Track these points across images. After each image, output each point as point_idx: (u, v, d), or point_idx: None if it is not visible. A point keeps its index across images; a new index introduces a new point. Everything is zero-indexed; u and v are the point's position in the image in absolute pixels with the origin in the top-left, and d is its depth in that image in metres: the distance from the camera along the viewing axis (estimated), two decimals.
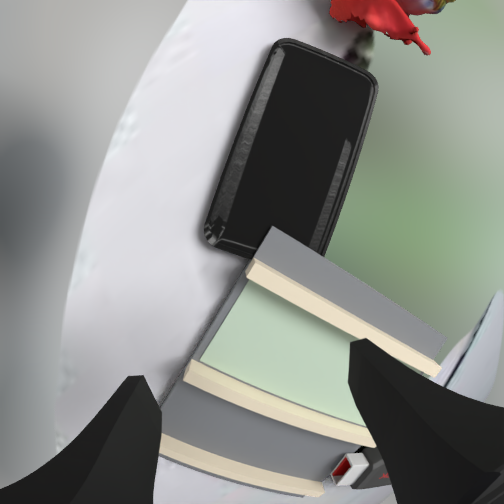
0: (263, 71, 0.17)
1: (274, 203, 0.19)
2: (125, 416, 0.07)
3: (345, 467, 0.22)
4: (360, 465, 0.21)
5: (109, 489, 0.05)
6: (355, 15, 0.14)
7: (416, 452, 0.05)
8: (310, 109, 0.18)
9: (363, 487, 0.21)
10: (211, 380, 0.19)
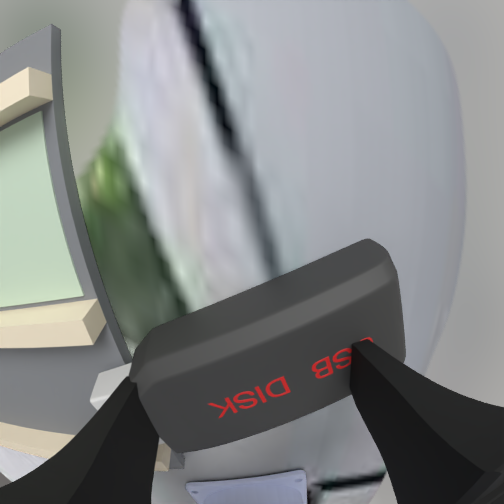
0: None
1: None
2: (123, 416, 0.07)
3: None
4: None
5: (107, 489, 0.05)
6: None
7: (416, 452, 0.05)
8: None
9: (204, 444, 0.10)
10: None
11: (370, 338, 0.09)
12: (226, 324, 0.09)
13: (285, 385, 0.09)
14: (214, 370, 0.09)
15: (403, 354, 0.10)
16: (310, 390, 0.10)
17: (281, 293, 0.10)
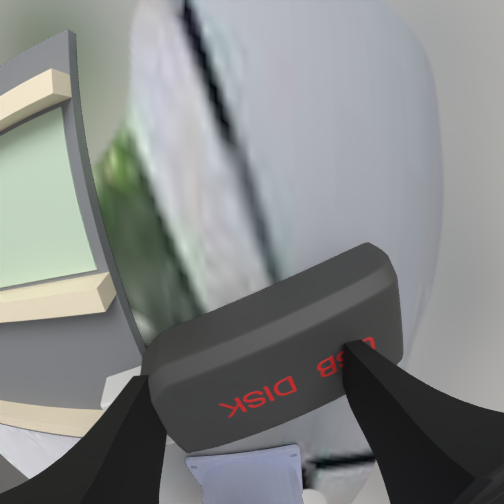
0: None
1: None
2: (131, 416, 0.07)
3: None
4: None
5: (116, 490, 0.05)
6: None
7: (409, 455, 0.05)
8: None
9: (214, 443, 0.10)
10: None
11: (371, 338, 0.10)
12: (236, 327, 0.10)
13: (292, 384, 0.10)
14: (226, 373, 0.09)
15: (401, 352, 0.11)
16: (315, 388, 0.10)
17: (288, 297, 0.10)
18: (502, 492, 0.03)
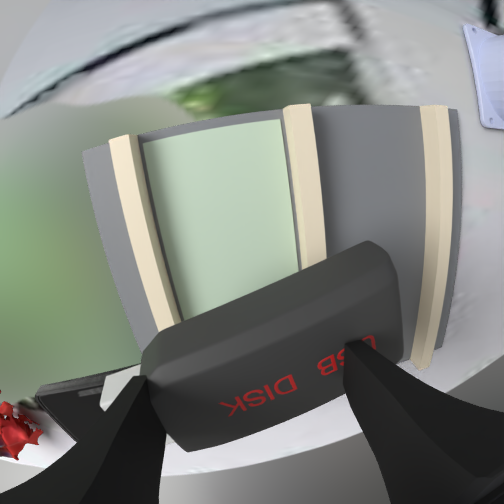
0: None
1: None
2: (131, 416, 0.07)
3: None
4: None
5: (116, 490, 0.05)
6: (30, 436, 0.18)
7: (409, 455, 0.05)
8: (91, 419, 0.20)
9: (214, 442, 0.10)
10: None
11: (372, 336, 0.10)
12: (236, 325, 0.10)
13: (292, 382, 0.10)
14: (226, 371, 0.09)
15: (402, 350, 0.11)
16: (316, 386, 0.10)
17: (288, 295, 0.10)
18: (502, 492, 0.03)
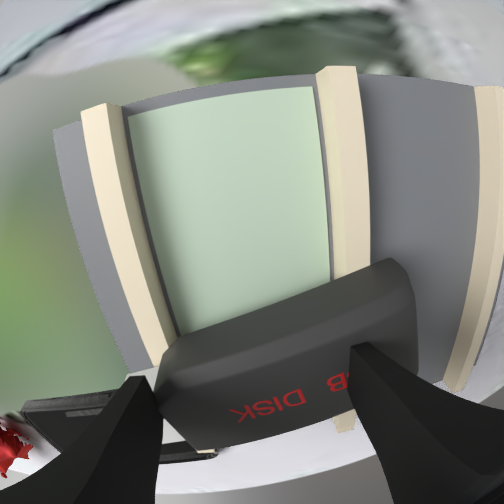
0: None
1: None
2: (127, 416, 0.07)
3: None
4: None
5: (111, 489, 0.05)
6: (19, 452, 0.15)
7: (412, 454, 0.05)
8: None
9: (223, 444, 0.11)
10: (339, 417, 0.14)
11: None
12: (249, 339, 0.10)
13: (301, 396, 0.10)
14: (236, 382, 0.09)
15: (416, 370, 0.10)
16: (325, 401, 0.10)
17: (303, 312, 0.10)
18: None
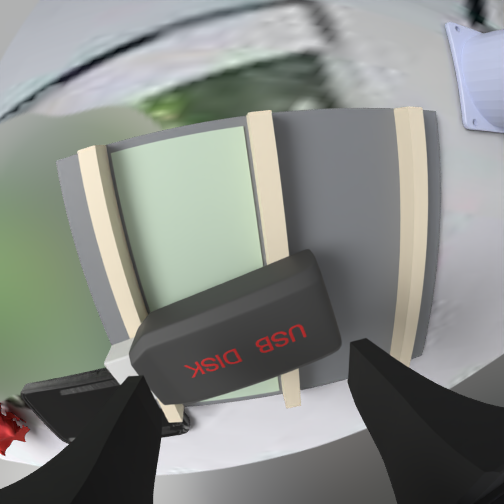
0: None
1: None
2: (125, 416, 0.07)
3: None
4: (118, 360, 0.14)
5: (109, 489, 0.05)
6: (17, 432, 0.18)
7: (416, 452, 0.05)
8: (74, 418, 0.20)
9: (184, 399, 0.14)
10: (284, 392, 0.18)
11: (301, 325, 0.13)
12: (195, 309, 0.14)
13: (237, 355, 0.14)
14: (186, 341, 0.13)
15: (336, 341, 0.14)
16: (258, 361, 0.14)
17: (234, 289, 0.14)
18: None
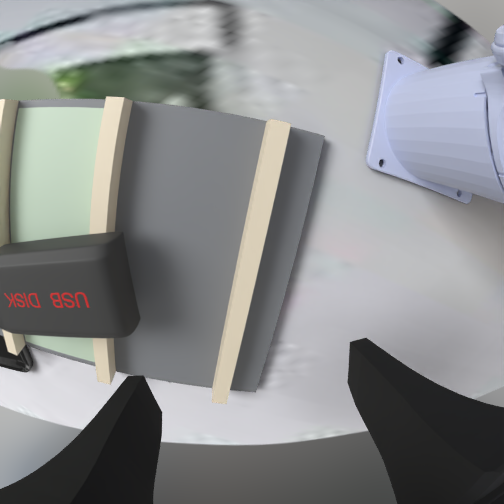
0: None
1: None
2: (125, 416, 0.07)
3: None
4: None
5: (109, 489, 0.05)
6: None
7: (416, 452, 0.05)
8: None
9: (3, 325, 0.13)
10: (95, 364, 0.17)
11: (85, 294, 0.13)
12: (21, 249, 0.13)
13: (37, 300, 0.13)
14: (6, 272, 0.12)
15: (118, 325, 0.14)
16: (51, 313, 0.13)
17: (51, 244, 0.13)
18: None
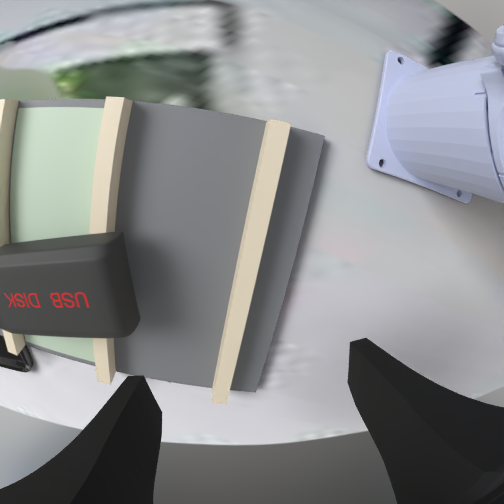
0: None
1: None
2: (125, 416, 0.07)
3: None
4: None
5: (109, 489, 0.05)
6: None
7: (416, 452, 0.05)
8: None
9: (3, 325, 0.13)
10: (95, 364, 0.17)
11: (85, 294, 0.13)
12: (21, 249, 0.13)
13: (37, 300, 0.13)
14: (6, 272, 0.12)
15: (118, 325, 0.14)
16: (51, 313, 0.13)
17: (51, 244, 0.13)
18: None
